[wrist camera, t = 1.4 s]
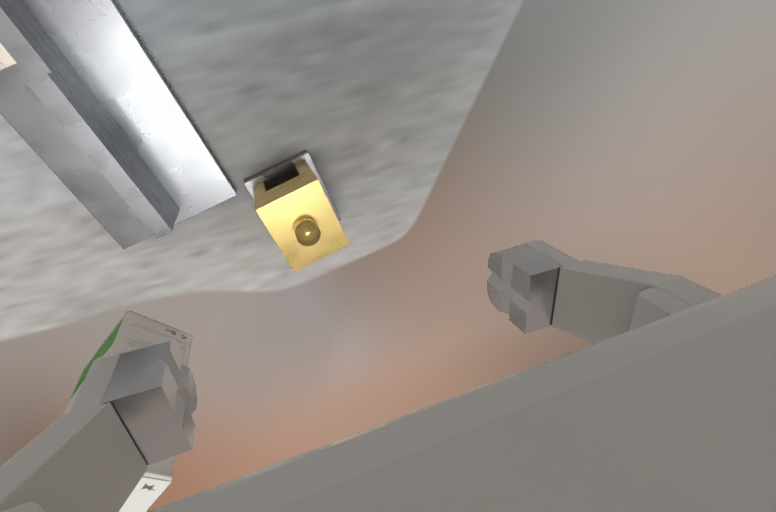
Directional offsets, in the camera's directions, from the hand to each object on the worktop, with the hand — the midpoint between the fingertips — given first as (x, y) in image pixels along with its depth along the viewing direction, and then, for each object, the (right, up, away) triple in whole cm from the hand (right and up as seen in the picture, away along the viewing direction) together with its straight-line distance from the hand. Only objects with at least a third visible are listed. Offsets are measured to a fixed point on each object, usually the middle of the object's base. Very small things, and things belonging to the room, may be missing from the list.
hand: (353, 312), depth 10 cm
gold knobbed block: (-7, +6, +25) cm, 27 cm away
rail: (-20, +13, +17) cm, 30 cm away
